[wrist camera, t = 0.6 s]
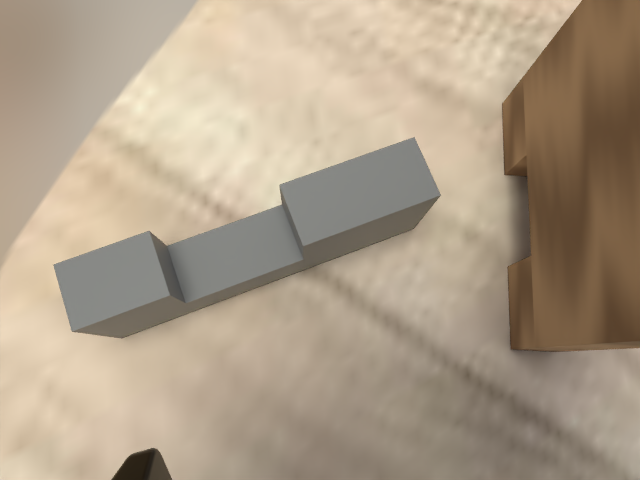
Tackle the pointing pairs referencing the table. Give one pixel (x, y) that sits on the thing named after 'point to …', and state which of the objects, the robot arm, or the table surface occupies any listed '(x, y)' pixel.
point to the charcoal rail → (249, 245)
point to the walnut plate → (579, 184)
